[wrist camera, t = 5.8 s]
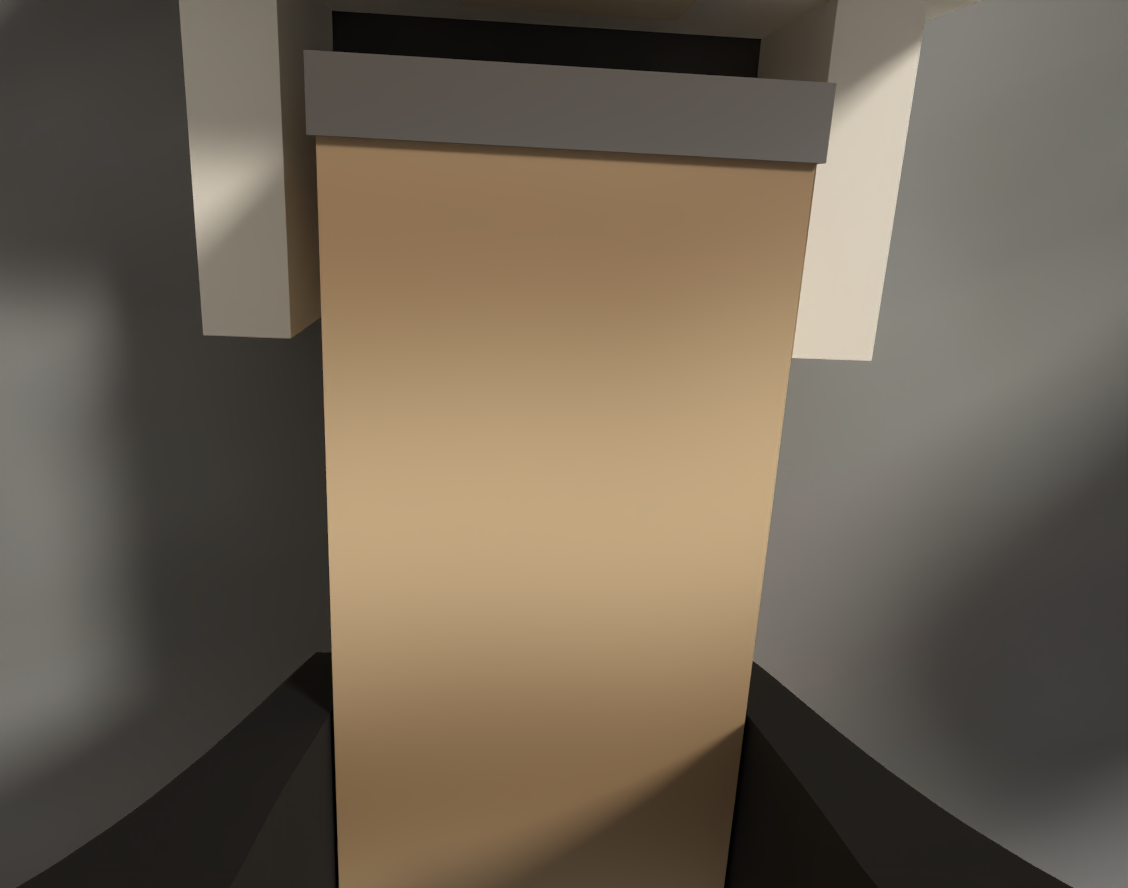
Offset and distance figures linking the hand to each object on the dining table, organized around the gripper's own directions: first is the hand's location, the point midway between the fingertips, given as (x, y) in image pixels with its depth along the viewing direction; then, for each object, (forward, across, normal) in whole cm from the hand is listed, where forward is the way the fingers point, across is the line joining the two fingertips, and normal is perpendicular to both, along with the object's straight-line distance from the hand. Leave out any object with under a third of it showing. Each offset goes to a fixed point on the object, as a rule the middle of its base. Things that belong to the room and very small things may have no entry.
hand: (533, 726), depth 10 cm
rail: (+3, 0, 0) cm, 3 cm away
